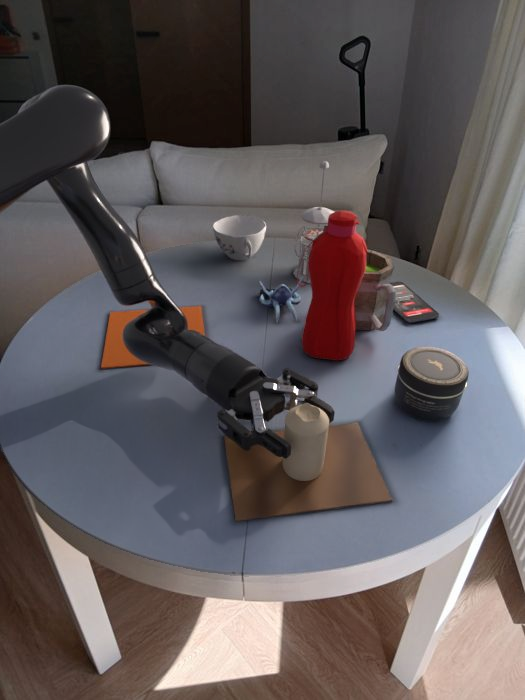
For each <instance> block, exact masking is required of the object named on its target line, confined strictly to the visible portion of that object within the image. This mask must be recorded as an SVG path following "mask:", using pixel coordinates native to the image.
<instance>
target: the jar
mask: <svg viewBox="0 0 525 700" xmlns="http://www.w3.org/2000/svg"><path fill="white" fill-rule="evenodd" d="M469 375H470V374H469V368H468V366H467V364H466V363H465V362H464V360H462V359H461V358H460V357H459V356H457V355H456V354H454V353H452V352H451V351H448V350H445V349H442V348H440V347H439V348H438V347H433V346H419V347H414V348H411V349H409V350H407V351H405V353H403V355H402V357H401V359H400V362H399V365H398V369H397V375H396V380H395V384H394V397H395V401H396V403H397V405H398V406H399V408H400V409H401V410H402V411H403V412H404V413H405V414H407V416H410V417H412V418H414V419H416V420H419V421H423V422H431V423H432V422H440V421H443V420H446V419H448V418H450V417H451V416H452V415H453V414H454V412H455V411H456V410H457V409H458V407H459V405H460V402H461V400H462V397H463V393H464V391H465V390H466V388H467V385H468V381H469V380H468V379H469Z"/></svg>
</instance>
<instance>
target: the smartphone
mask: <svg viewBox="0 0 525 700" xmlns="http://www.w3.org/2000/svg"><path fill="white" fill-rule="evenodd" d="M390 285H392V286H393V287H394V289H395V291H396V302H395V305H394V309H393V311H395V312H396V313H397V314H398V315H400V317H401V318H402V319H403V320H404V321H405V322H407V323H410V324H412V323H417V322H423V321H429V320H434V319H438V318H440V317H439V316H440V313H439V312H438V311H437V310H435V309H434V308H433V307H432V306H431V305H430V304H429V303H427V302H426V301H425V300H424V299H422V297H420V296H419V295H418V294H417V293H416V292H415V291H413V290H412V289H411V288H410V287H409V286H408V285H406V284H405V283H404V282H403V281H392V282H391V281H390ZM387 303H388V299H387V302H386V304H387Z"/></svg>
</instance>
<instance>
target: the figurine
mask: <svg viewBox="0 0 525 700" xmlns="http://www.w3.org/2000/svg"><path fill="white" fill-rule="evenodd" d="M302 279H303V277H302V278H301V279H300V280H298V282H297V285H296V286H295V287H294V288H291V287H288V286H287V285H286V284H284V283H281V284H279V285H278V286H277V287H276V288H265V286H264V284H263V282H261V280H259V282H258V283H259V285H260V288H261V289H260V290H259V298H258V299H259V300H258V301H259V303H260V304H261V306H263V307H265V308H268V307H272V306H273V308H274V316H275V323H276V324H277V323H278V321H279V318H280V315H281V313H280V312H281V308H280V306H283V307H284V306H285V307H286V308H287V309H288V311H289V312H290V314H291V316H292V318H293V319H294V320H295V321H296V322H297V312H296V309H295V307H294V305H295V306H297V305H299V304H300V303H301V301H302V298H301V296H300V295H299V293H297V291H298V290H299V288H300V287H301V286H299V285H298V283H299V284H300V285H302V282H303V281H302Z"/></svg>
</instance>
